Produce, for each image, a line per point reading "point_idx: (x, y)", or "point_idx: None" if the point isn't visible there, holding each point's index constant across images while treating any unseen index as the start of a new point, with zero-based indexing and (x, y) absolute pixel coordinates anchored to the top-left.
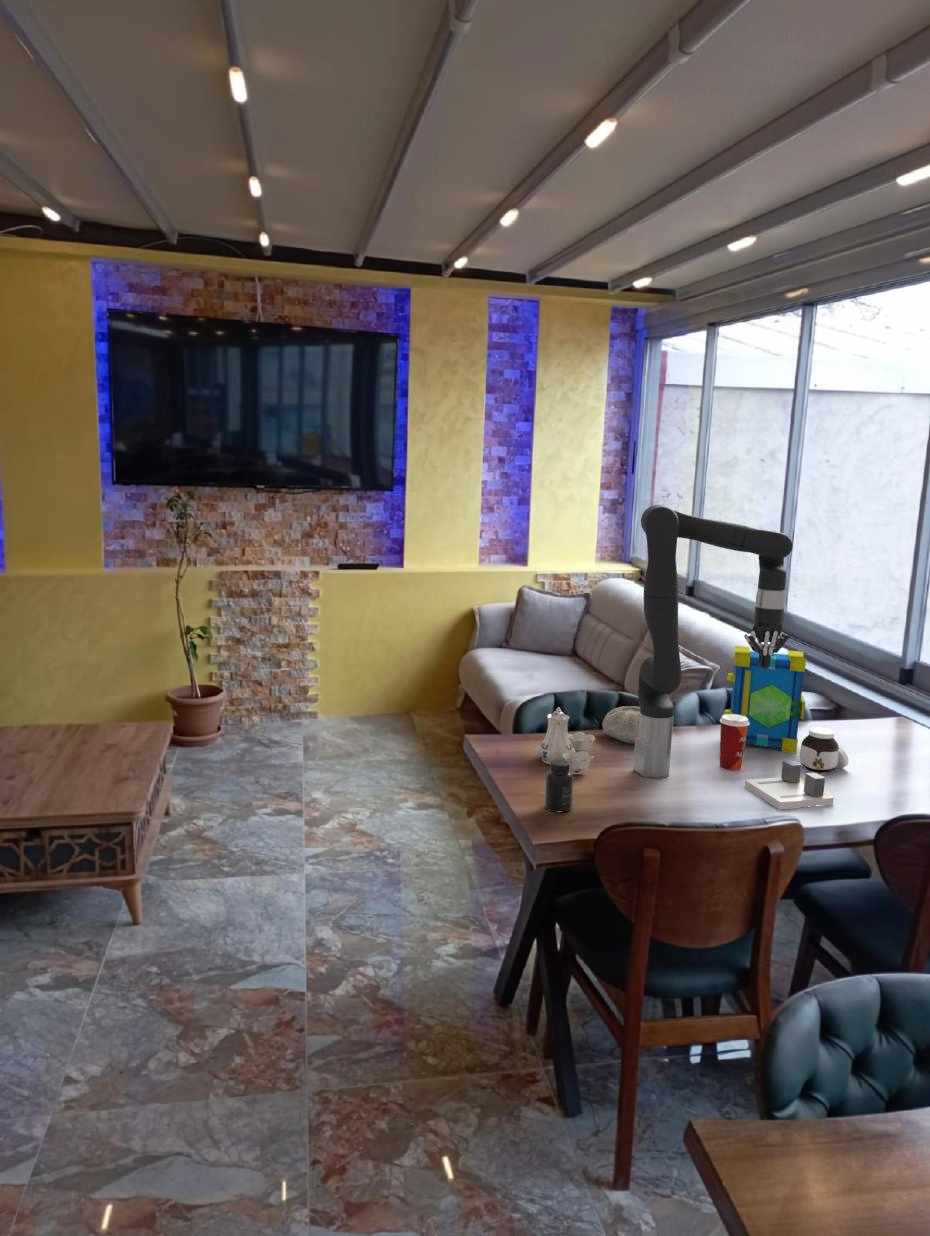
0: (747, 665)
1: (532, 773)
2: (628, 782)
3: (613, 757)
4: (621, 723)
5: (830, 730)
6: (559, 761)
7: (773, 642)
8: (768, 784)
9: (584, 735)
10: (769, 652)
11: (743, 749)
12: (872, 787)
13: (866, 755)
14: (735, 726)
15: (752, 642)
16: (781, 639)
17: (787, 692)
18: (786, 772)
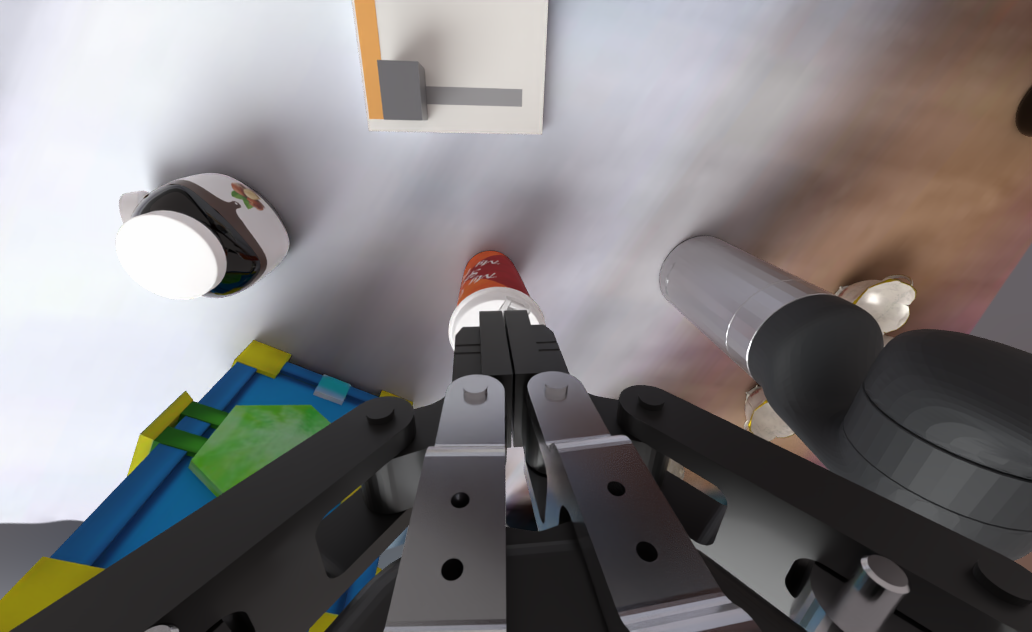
0: (321, 618)
1: (920, 307)
2: (788, 224)
3: (710, 366)
4: (673, 461)
5: (125, 257)
6: None
7: (452, 512)
8: (495, 80)
9: (754, 432)
10: (492, 398)
11: (473, 271)
12: (115, 31)
13: (28, 298)
14: (519, 294)
15: (876, 499)
16: (201, 621)
17: (193, 485)
18: (423, 92)
